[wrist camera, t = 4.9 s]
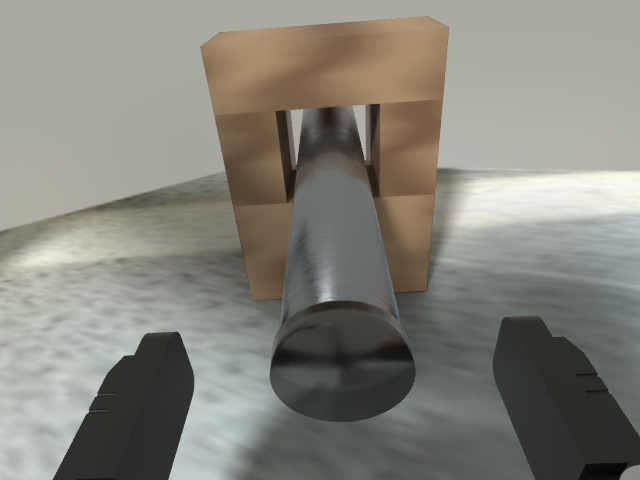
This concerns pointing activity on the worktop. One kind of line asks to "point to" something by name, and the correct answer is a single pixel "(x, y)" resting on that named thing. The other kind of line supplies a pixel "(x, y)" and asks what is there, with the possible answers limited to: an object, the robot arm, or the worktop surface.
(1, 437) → the worktop surface
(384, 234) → the bearing block
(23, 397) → the worktop surface
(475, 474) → the worktop surface
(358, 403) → the shaft
